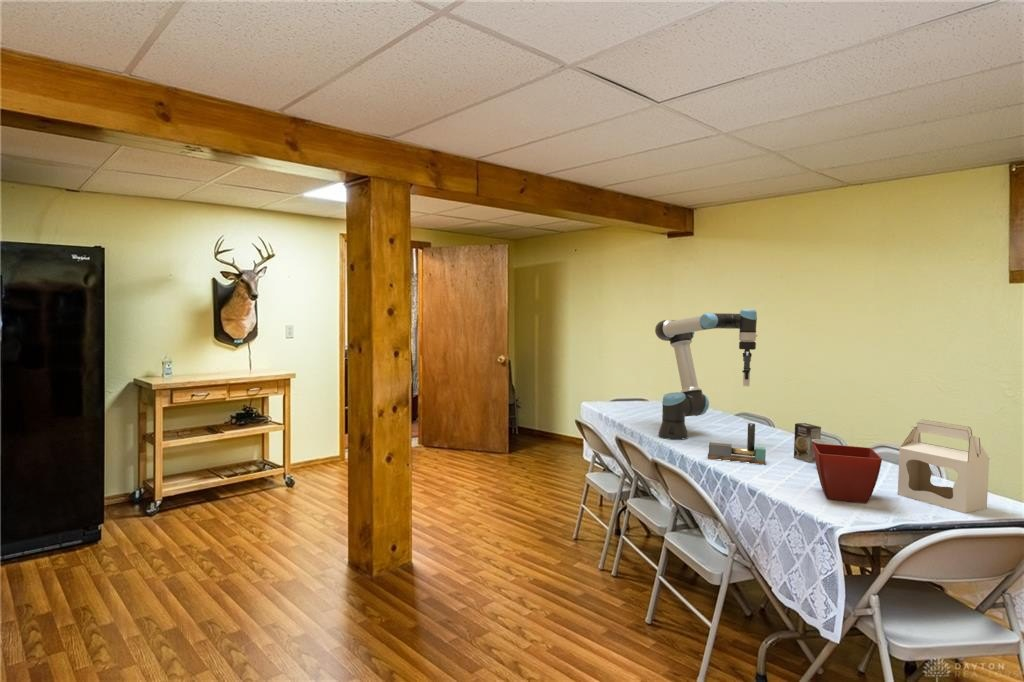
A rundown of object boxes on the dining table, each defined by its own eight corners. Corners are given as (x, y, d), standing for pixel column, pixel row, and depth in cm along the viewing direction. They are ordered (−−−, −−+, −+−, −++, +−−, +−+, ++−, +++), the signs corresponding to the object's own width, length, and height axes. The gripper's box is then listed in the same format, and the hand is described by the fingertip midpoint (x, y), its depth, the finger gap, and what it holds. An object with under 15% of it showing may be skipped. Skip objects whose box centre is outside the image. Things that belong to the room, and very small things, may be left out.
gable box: (896, 494, 207) (899, 418, 206) (917, 490, 212) (921, 416, 211) (966, 513, 187) (970, 430, 185) (988, 508, 192) (992, 427, 191)
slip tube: (728, 454, 254) (729, 422, 253) (729, 453, 256) (730, 421, 256) (762, 457, 248) (763, 425, 248) (762, 456, 251) (763, 424, 250)
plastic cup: (844, 472, 235) (845, 444, 235) (818, 472, 235) (819, 443, 235) (830, 465, 246) (831, 438, 245) (805, 465, 246) (806, 438, 246)
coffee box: (792, 457, 259) (794, 423, 258) (803, 457, 261) (805, 422, 260) (808, 462, 250) (810, 427, 250) (820, 461, 252) (821, 426, 252)
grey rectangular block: (708, 455, 256) (709, 444, 256) (709, 452, 261) (709, 442, 260) (731, 457, 252) (731, 446, 252) (731, 455, 257) (731, 444, 257)
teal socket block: (755, 459, 249) (755, 448, 248) (755, 457, 253) (755, 446, 253) (765, 460, 247) (765, 449, 247) (764, 458, 252) (765, 447, 251)
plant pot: (811, 485, 216) (812, 442, 215) (869, 492, 209) (871, 447, 208) (817, 500, 198) (818, 453, 198) (880, 508, 191) (882, 459, 190)
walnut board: (707, 458, 255) (707, 455, 255) (708, 455, 262) (708, 452, 262) (765, 464, 246) (765, 461, 246) (764, 461, 253) (764, 457, 253)
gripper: (756, 342, 260) (755, 388, 261) (755, 340, 283) (754, 382, 284) (739, 341, 263) (737, 387, 264) (739, 340, 286) (738, 381, 287)
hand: (746, 384), depth 274 cm, fingers open, 13 cm apart
